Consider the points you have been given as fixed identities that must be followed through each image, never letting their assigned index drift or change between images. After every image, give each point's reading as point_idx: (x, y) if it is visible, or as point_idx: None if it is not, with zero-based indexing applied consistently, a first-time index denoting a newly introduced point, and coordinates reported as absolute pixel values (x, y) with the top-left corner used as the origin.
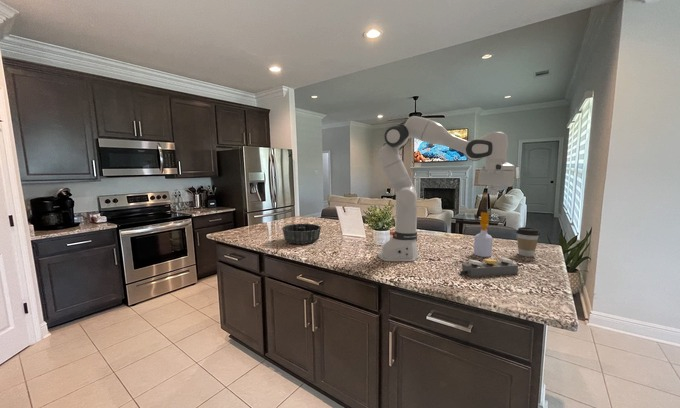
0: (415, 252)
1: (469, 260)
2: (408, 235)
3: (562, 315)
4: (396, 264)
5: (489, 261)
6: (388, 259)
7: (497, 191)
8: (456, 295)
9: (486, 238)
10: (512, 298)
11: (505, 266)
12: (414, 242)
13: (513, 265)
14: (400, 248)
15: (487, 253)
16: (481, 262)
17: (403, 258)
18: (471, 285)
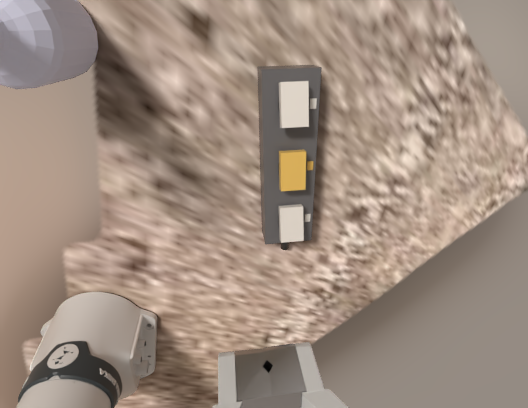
0: (128, 322)
1: (285, 241)
2: (116, 397)
3: (523, 163)
4: (180, 352)
5: (305, 184)
6: (152, 369)
7: (331, 396)
8: (379, 296)
9: (55, 48)
10: (433, 205)
11: (317, 125)
12: (114, 354)
13: (317, 88)
14: (134, 372)
15: (92, 37)
16: (298, 207)
17: (145, 339)
18: (348, 249)
